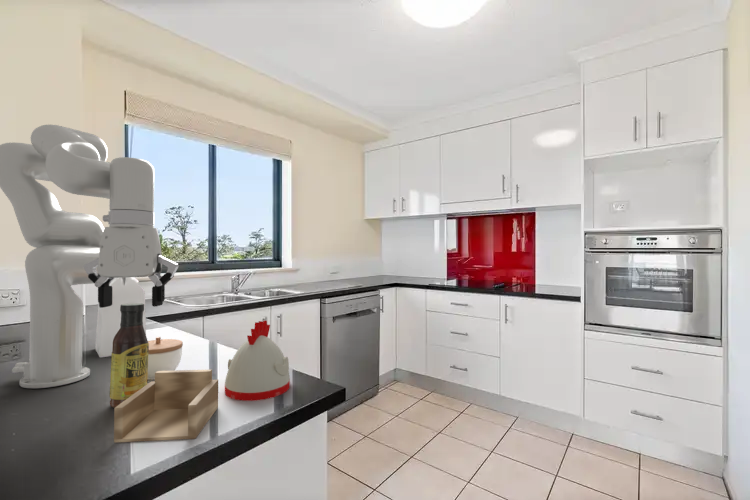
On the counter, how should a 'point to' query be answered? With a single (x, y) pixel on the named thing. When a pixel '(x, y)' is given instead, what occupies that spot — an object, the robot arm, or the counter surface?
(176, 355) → the lidded jar
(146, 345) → the sauce bottle
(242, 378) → the kitchen timer
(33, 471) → the counter surface
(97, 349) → the milk
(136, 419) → the oak rest
